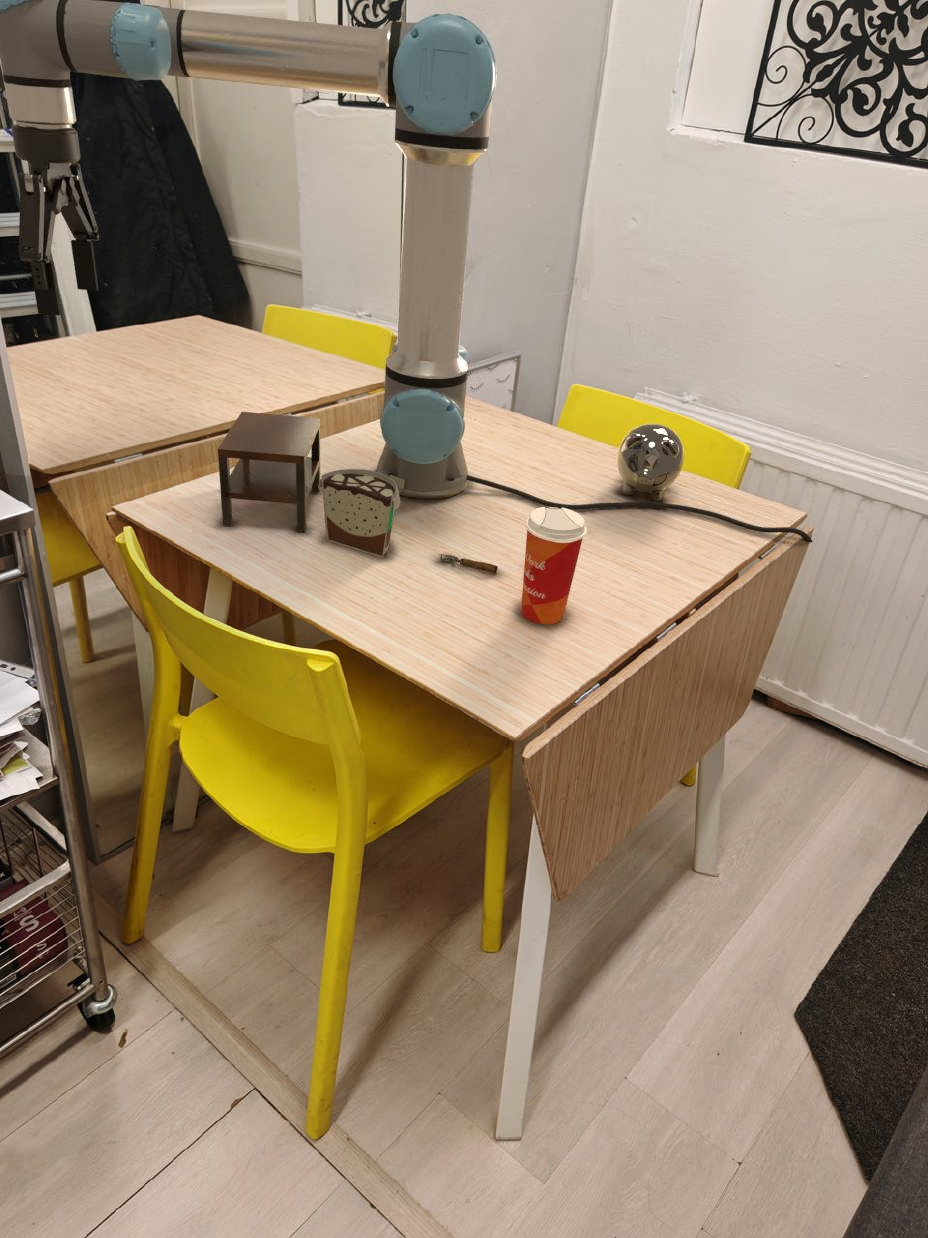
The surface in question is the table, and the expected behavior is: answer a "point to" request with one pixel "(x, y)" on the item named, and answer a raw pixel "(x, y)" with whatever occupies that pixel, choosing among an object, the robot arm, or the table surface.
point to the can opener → (471, 563)
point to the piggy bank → (650, 459)
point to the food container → (359, 509)
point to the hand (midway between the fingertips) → (70, 301)
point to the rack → (270, 462)
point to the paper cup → (550, 562)
